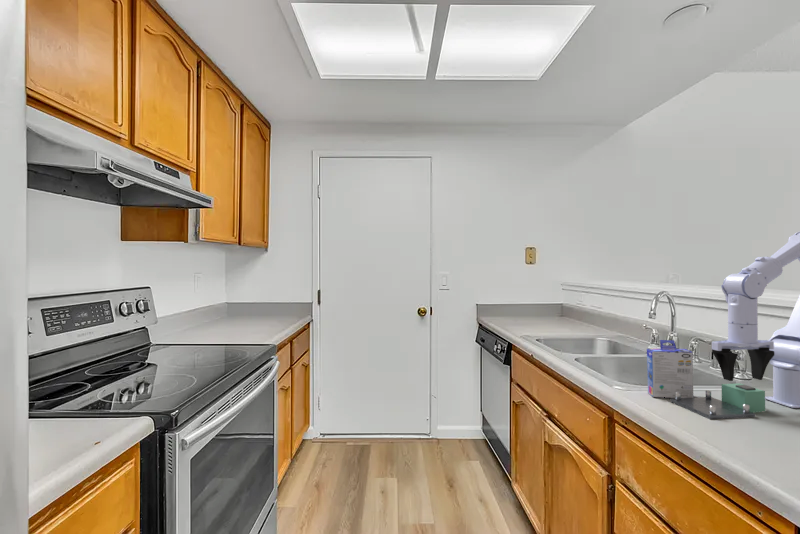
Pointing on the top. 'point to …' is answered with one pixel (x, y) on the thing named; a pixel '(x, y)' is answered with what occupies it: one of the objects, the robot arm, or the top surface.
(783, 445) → the top surface
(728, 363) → the robot arm
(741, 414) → the chassis
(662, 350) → the ink cartridge box
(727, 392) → the block
